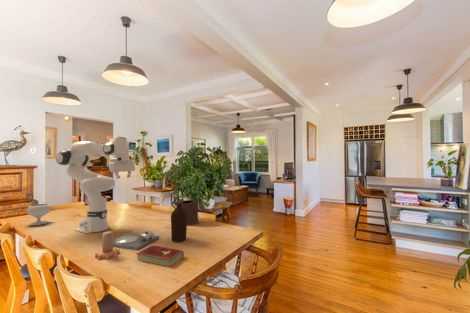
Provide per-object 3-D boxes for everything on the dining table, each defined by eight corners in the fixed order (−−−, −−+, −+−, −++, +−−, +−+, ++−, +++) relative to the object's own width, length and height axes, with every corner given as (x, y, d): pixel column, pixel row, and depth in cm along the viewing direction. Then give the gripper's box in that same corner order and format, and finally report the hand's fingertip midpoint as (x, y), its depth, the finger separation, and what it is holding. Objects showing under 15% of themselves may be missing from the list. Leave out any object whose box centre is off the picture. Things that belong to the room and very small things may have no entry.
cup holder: (197, 226, 171) (197, 194, 171) (167, 225, 171) (167, 194, 172) (201, 219, 189) (201, 191, 190) (174, 219, 190) (174, 191, 190)
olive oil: (185, 242, 136) (185, 202, 136) (168, 242, 136) (168, 202, 136) (188, 236, 146) (189, 199, 147) (173, 236, 147) (173, 199, 147)
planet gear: (89, 257, 114) (90, 235, 114) (108, 249, 125) (108, 228, 125) (106, 260, 111) (107, 237, 111) (124, 251, 122) (124, 230, 122)
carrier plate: (104, 245, 131) (104, 236, 131) (129, 234, 150) (129, 226, 150) (137, 250, 124) (137, 240, 124) (158, 238, 143) (159, 229, 143)
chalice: (47, 220, 184) (47, 202, 184) (52, 223, 176) (52, 204, 176) (24, 224, 173) (25, 205, 173) (29, 227, 165) (29, 207, 165)
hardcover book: (152, 251, 123) (152, 244, 123) (183, 257, 116) (183, 249, 116) (135, 260, 112) (136, 252, 112) (169, 268, 105) (169, 259, 105)
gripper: (129, 159, 166) (131, 177, 166) (106, 159, 147) (108, 179, 146) (136, 158, 164) (137, 176, 164) (114, 158, 145) (115, 178, 144)
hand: (123, 178), depth 155 cm, fingers open, 8 cm apart
